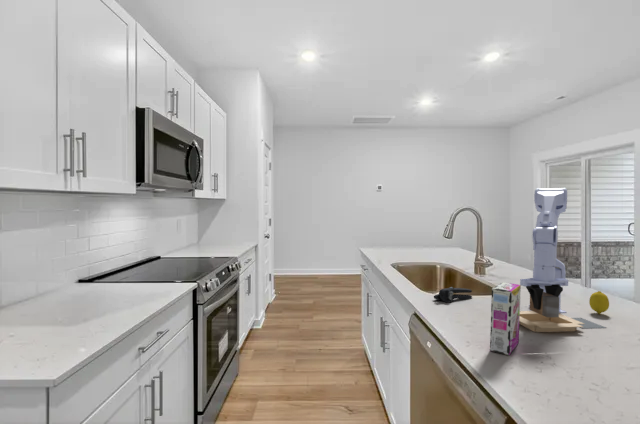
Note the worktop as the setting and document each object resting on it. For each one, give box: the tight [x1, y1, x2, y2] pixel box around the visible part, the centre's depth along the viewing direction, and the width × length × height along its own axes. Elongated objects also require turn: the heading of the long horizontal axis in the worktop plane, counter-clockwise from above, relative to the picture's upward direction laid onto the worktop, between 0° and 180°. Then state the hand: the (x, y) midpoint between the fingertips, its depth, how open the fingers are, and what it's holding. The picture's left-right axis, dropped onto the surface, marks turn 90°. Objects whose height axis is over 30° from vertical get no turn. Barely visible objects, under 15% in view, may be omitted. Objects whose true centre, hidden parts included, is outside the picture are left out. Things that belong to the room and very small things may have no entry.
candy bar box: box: [489, 282, 521, 356], centre depth 98 cm, size 11×5×16 cm, turn 141°
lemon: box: [588, 290, 610, 315], centre depth 129 cm, size 6×6×8 cm
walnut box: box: [529, 292, 559, 317], centre depth 115 cm, size 8×4×6 cm, turn 5°
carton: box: [519, 310, 584, 333], centre depth 115 cm, size 16×18×2 cm
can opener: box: [433, 286, 473, 303], centre depth 147 cm, size 18×7×6 cm, turn 114°
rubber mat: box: [571, 317, 607, 329], centre depth 118 cm, size 10×8×1 cm
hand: (543, 308), depth 115 cm, fingers closed on walnut box, 4 cm apart
